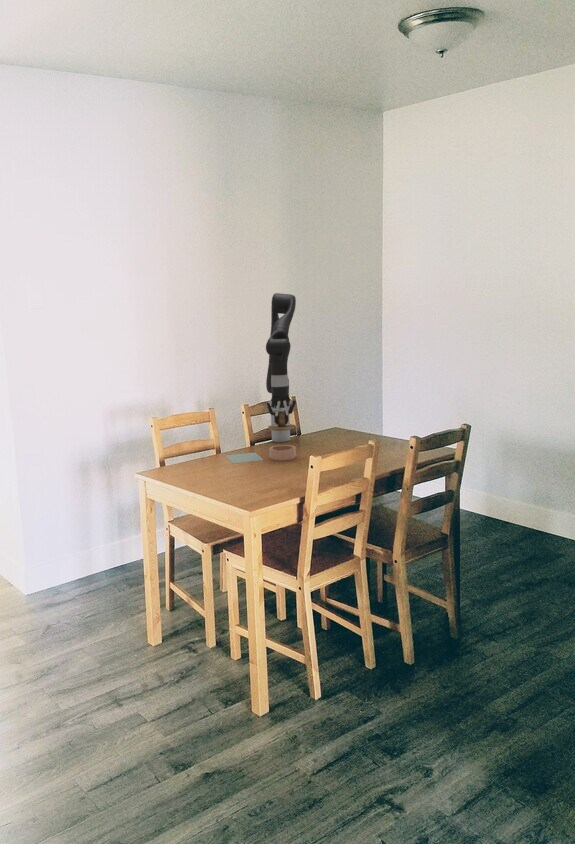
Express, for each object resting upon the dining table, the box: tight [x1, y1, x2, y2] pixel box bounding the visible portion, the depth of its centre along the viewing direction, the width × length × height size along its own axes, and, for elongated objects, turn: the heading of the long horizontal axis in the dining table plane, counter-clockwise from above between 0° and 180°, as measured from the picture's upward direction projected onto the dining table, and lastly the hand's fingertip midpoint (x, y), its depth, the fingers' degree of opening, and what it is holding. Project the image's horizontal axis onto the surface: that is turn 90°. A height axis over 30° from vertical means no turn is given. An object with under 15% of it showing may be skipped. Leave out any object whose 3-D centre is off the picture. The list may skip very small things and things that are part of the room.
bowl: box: [268, 444, 297, 462], centre depth 316 cm, size 11×11×5 cm
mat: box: [225, 452, 264, 464], centre depth 319 cm, size 16×14×1 cm
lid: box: [267, 411, 296, 431], centre depth 313 cm, size 12×12×7 cm
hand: (281, 423), depth 313 cm, fingers closed on lid, 3 cm apart
